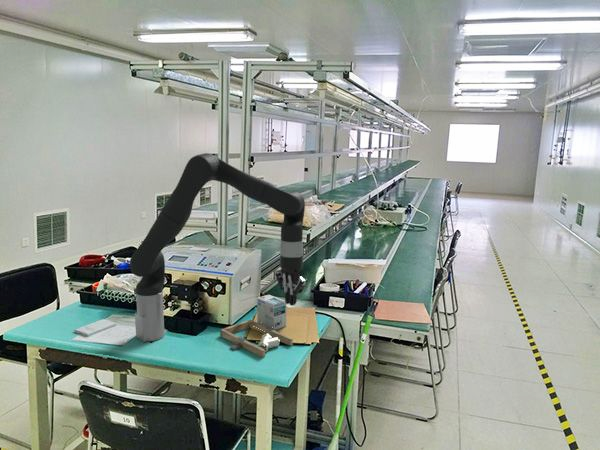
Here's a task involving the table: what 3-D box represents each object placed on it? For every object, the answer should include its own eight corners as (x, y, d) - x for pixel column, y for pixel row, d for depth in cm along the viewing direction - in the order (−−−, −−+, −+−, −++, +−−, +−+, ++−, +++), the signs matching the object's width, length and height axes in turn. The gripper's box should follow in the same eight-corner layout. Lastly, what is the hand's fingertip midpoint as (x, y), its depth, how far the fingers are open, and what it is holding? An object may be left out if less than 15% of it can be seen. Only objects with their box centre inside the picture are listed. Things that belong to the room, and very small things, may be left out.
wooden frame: (262, 357, 158) (262, 350, 157) (220, 335, 174) (220, 329, 174) (292, 345, 168) (292, 338, 167) (250, 325, 184) (250, 319, 184)
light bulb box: (286, 326, 184) (287, 300, 182) (274, 331, 180) (274, 304, 178) (269, 318, 192) (269, 293, 190) (256, 323, 187) (256, 297, 185)
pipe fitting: (280, 345, 169) (261, 342, 170) (281, 335, 168) (262, 332, 169) (276, 355, 161) (257, 352, 162) (277, 344, 161) (258, 342, 161)
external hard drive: (116, 326, 182) (88, 338, 172) (103, 322, 186) (74, 333, 176) (116, 323, 182) (88, 333, 172) (103, 318, 186) (74, 328, 176)
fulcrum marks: (234, 350, 163) (234, 343, 162) (229, 348, 165) (229, 340, 164) (280, 333, 178) (280, 326, 177) (274, 330, 180) (274, 324, 179)
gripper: (268, 251, 154) (268, 301, 157) (298, 259, 145) (297, 312, 148) (285, 248, 159) (284, 296, 163) (314, 255, 150) (313, 306, 153)
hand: (290, 303), depth 155 cm, fingers closed
